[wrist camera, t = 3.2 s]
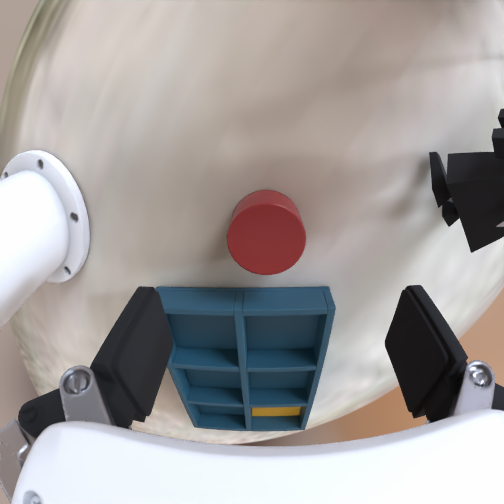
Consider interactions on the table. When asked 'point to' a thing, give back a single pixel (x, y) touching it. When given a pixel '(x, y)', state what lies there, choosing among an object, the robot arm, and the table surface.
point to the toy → (473, 190)
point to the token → (266, 233)
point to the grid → (248, 353)
